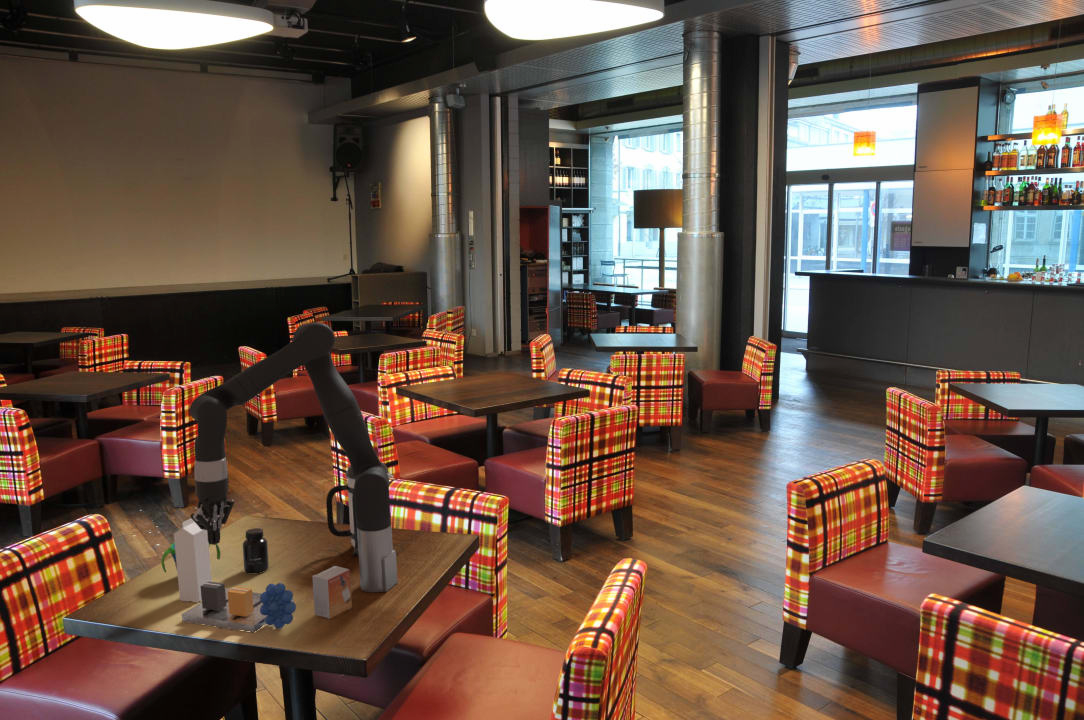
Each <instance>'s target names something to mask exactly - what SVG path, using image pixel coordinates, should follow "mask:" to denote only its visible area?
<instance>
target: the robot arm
mask: <svg viewBox="0 0 1084 720" xmlns="http://www.w3.org/2000/svg"><path fill="white" fill-rule="evenodd" d="M335 336H336V335H335V333H334V331H333V330H332V328H331V327H329V326H328V325H327V324H325V323H321V322H309V323H305V324H302V325H299V326H298V327H297V328H296V329H295V331H294V333H293V335H292V340H291V341H290V342H289V343H288V344H287V345H285V346H283V347H282V348H280V349H279V350H278V351H275V352H274V353H272V354H271V355H268V356H267V357H265V358H263V359H261V360H259V361H257V362H255V363H253V364H252V365H250V366H249V367H247V368H245V369H243V370H242V371H241V372H239V373H238V374H236V375H234V376H233V377H231V378H230V379H228V380H227V381H226V382H223V383H221V384H219V385H217V386H215V387H212V388H210V389H208V390H207V391H205V392H202V393H201V394H200V395H198V396H197V397H195V399H193V400H192V402H191V404H190V406H189V414H190V416H191V418H192V419H193V420H194V421H196V422H197V423H196V424H197V436H196V437H195V439H194V445H193V446H194V470H193V471H194V484H195V485H194V486H195V488H194V489H195V496H196V498H197V499H198V502H197V510H196V512H195V513H191V514H190V518H192V520H193V521H194V522H195V523H196V524H197V525H198V526H199V528H200V529H202V530H207V535H208V543H209V544H210V545H212V546H216V544H220V542H221V528H222V525H225V524H227V521H228V519H229V517H230V515H231V512H232V510H233V509H232V508H233V507H234V505H235V503H234V500H233V501H232V500H228V496H227V495H228V493H229V483H228V482H229V481H228V480H229V478H228V477H229V475H228V465H227V459H226V458H227V457H226V442H225V439H226V432H227V427H228V426H227V424H228V414H227V413H228V412H227V411H228V410H229V409H232V408H233V407H235V406H242V405H244V404H246V403H248V402H249V401H251V400H252V399H254V398H255V397H257V396H258V395H259V394H261V393H263V392H264V391H266V390H267V389H268V388H270V387H271V386H272V385H274V384H275V383H277V382H278V381H280V380H281V379H282V378H284V377H285V376H287V375H289V374H290V373H292V372H294V371H295V370H297V369H298V368H300V367H302V366H303V367H304V368H305V370H306V372H307V374H308V377H309V378H310V381H311V383H312V386H313V389H314V392H315V395H316V398H317V400H318V402H319V405H320V408H321V411H322V414H323V416H324V418H325V421H326V422H327V426H328V427H329V430H330V432H331V433H332V435H333V437H334V438H335V440H336V441H337V442H338V443H337V444H338V445H340V447H341V448H342V450H343V451H344V454H345V455H346V456H347V458H348V461H349V466H350V465H351V468H352V471H353V474H354V478H355V484H354V502H355V516H356V522H357V537H358V550H357V551H358V554H359V556H358V569H359V582H360V583H359V584H360V585H359V586H360V589H361V590H362V591H364V592H367V593H379V592H380V593H381V592H388V591H389V590H390V589H392V588H393V587H394V586H395V585H397V584H398V570H397V569H398V567H397V551H396V550H395V549H393V530H392V515H391V502H390V501H391V500H390V478H389V477H388V474H387V472H386V471H385V469H384V467H383V465H382V464H381V462H382V461H381V460H380V459H379V456H378V454H377V452H376V451H375V448H374V446H373V444H372V441H371V437H370V434H369V430H368V427H367V423H366V422H365V419H364V416H363V413H362V411H361V408H360V406H359V403H358V401H357V398H356V397H355V395H354V393H353V392H352V389H351V388H350V387H349V385H348V384H347V382H346V381H345V380H344V378H343V377H342V376H341V375H340V373H339V372H338V371H339V370H337V368H336V365H335V363H334V360H333V358H332V355H331V351H332V350H333V348H334V346H335V342H336V337H335Z"/></svg>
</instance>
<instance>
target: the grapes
mask: <svg viewBox="0 0 1084 720" xmlns="http://www.w3.org/2000/svg"><path fill="white" fill-rule="evenodd" d="M292 598H294V593H293V591H292V590H289V589H286V585H285V584H284V583H283V582H279V583H276V584H274V583H269V584H267V586H266V588H265V591H264V592H262V593H261V596H260V601H261V603H263V605H262V606H261V608H260V613H261V614H262V615H265V616H266V615H267V616H266V619H265V622H266V623H267V625H268V626H272V625H273V626H274V628H275V629H279V630H281V629H283V628H284V626H285V625H289V624H291V623H292V622H293V619H294V616H293V614H294V613H295V612H296V609H297V605H296V603H295V601H294V602H291V600H292Z"/></svg>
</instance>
